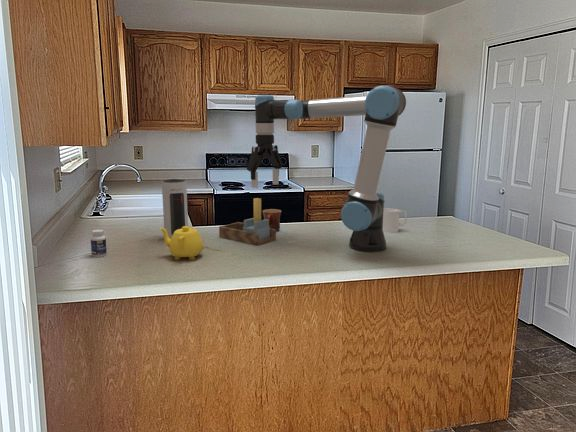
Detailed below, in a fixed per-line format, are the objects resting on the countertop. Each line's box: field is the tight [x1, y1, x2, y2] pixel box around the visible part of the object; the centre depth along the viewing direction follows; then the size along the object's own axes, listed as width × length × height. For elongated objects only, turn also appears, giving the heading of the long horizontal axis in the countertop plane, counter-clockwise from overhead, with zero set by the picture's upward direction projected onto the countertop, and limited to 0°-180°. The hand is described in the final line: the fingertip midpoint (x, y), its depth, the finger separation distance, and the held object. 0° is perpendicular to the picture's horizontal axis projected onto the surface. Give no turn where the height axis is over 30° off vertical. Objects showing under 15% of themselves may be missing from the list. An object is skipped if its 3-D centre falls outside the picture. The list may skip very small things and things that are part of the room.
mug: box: [262, 208, 282, 232], centre depth 223 cm, size 12×9×10 cm
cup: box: [383, 207, 408, 234], centre depth 231 cm, size 8×12×10 cm
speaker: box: [161, 178, 189, 239], centre depth 210 cm, size 11×10×26 cm
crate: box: [243, 217, 270, 240], centre depth 205 cm, size 8×8×9 cm
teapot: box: [158, 225, 204, 261], centre depth 185 cm, size 14×14×12 cm
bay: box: [218, 221, 277, 247], centre depth 209 cm, size 22×12×6 cm, turn 51°
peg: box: [253, 197, 262, 222], centre depth 203 cm, size 3×3×12 cm
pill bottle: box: [90, 229, 108, 258], centre depth 186 cm, size 5×5×10 cm
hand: (265, 185), depth 202 cm, fingers open, 13 cm apart
